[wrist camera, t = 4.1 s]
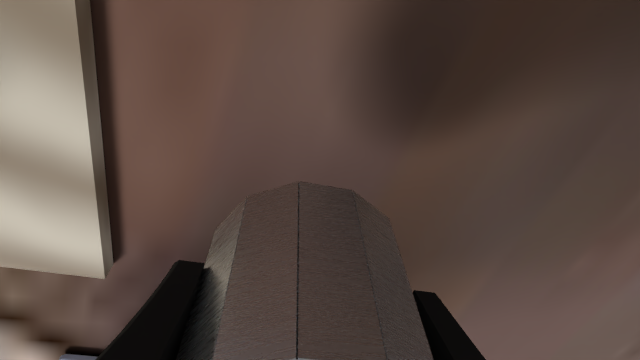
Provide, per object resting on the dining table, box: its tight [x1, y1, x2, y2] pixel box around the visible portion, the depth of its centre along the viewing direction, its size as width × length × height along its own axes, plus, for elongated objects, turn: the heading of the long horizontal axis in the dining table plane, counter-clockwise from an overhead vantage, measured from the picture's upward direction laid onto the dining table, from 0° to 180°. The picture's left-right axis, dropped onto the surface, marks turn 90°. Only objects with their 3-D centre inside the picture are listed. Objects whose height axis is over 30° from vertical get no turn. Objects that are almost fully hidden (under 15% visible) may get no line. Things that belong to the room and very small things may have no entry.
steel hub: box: [176, 182, 433, 360], centre depth 9 cm, size 6×6×5 cm
